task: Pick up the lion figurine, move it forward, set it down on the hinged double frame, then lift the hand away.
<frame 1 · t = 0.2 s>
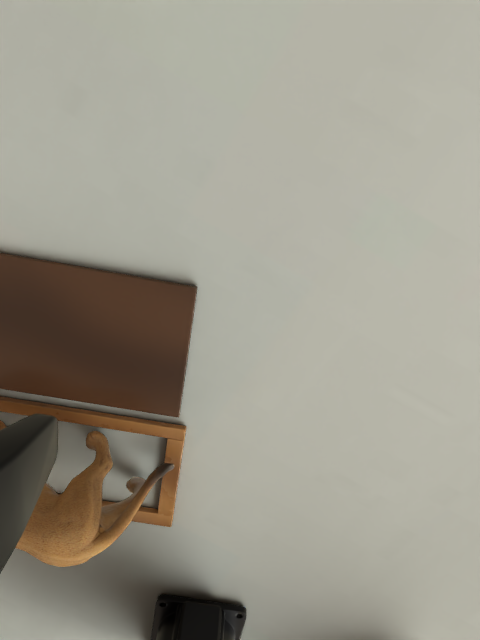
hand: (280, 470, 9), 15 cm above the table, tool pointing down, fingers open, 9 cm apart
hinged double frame: (51, 401, 26), on the table
lion figurine: (52, 455, 27), resting in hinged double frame
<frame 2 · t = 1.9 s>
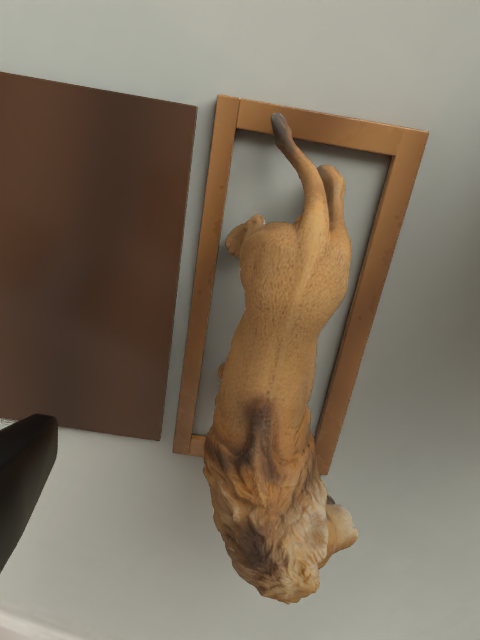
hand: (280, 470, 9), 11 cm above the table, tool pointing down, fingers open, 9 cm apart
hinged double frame: (188, 298, 19), on the table
lion figurine: (279, 311, 19), resting in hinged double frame
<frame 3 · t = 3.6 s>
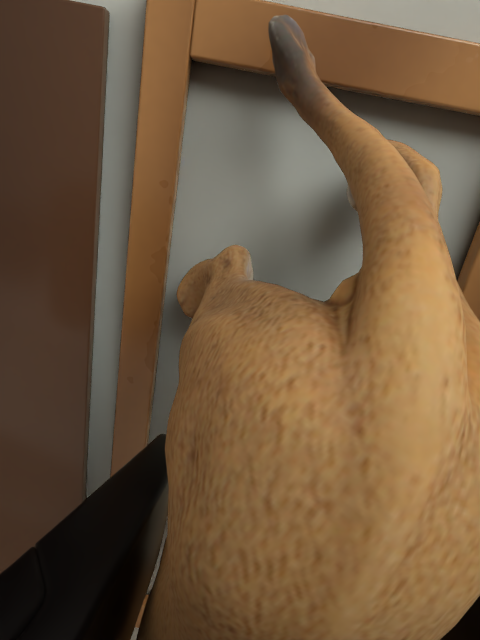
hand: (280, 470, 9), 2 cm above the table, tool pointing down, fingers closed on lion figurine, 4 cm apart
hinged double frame: (112, 386, 10), on the table
lion figurine: (279, 411, 11), resting in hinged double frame, touching gripper
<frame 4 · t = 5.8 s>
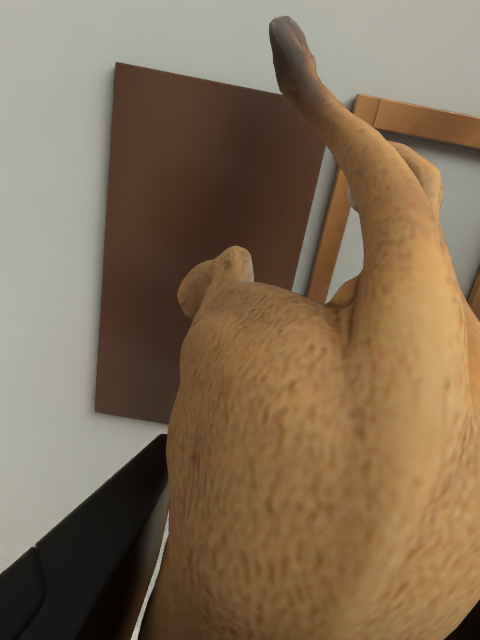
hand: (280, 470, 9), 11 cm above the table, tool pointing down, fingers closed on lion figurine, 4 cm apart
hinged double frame: (300, 297, 19), on the table
lion figurine: (280, 412, 11), point 9 cm above the table, touching gripper
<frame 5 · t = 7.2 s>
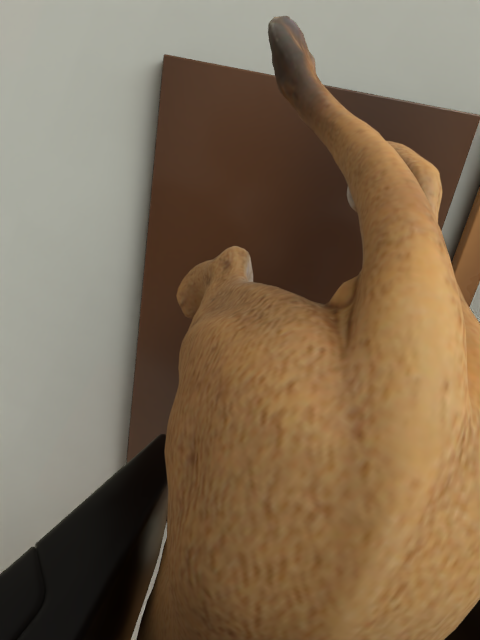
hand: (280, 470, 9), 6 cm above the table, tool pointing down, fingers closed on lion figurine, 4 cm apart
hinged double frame: (404, 373, 14), on the table
lion figurine: (279, 412, 11), point 3 cm above the table, touching gripper
when the fingers open (2 cm above the table, at t = 8.3 s): lion figurine stays where it is, resting on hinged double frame.
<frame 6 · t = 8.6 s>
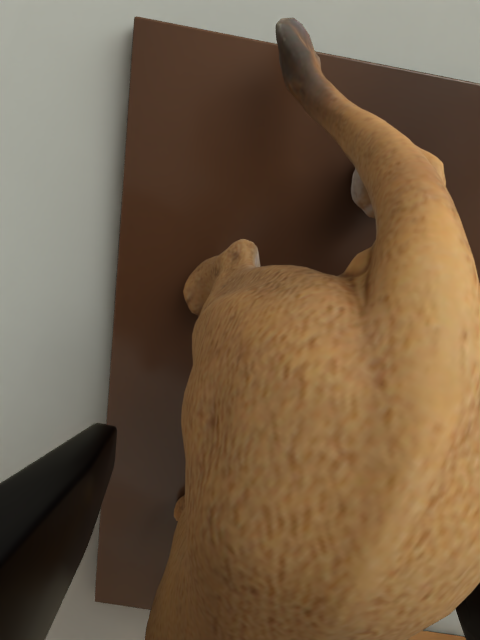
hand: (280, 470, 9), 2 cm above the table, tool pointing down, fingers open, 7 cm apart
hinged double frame: (452, 438, 11), on the table
lion figurine: (284, 411, 11), resting on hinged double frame
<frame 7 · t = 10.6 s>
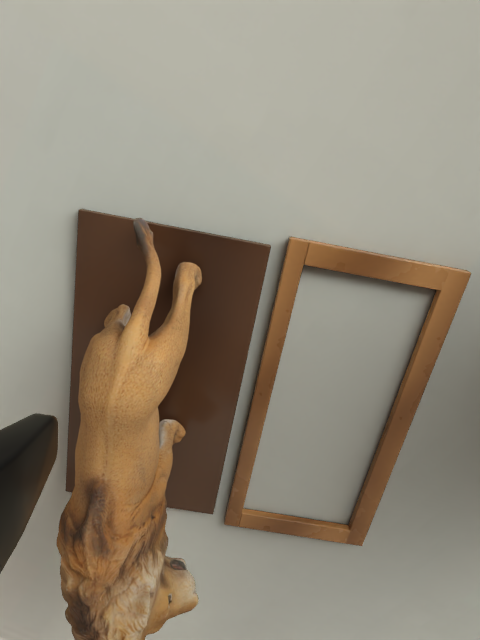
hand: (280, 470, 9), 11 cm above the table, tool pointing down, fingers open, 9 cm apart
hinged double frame: (248, 396, 21), on the table
lion figurine: (160, 381, 21), resting on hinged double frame
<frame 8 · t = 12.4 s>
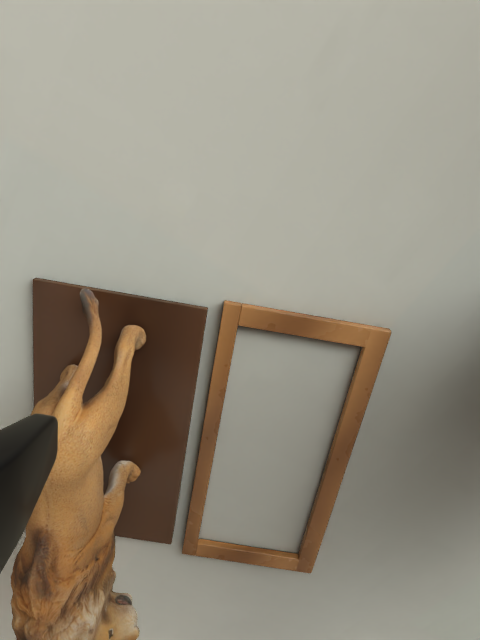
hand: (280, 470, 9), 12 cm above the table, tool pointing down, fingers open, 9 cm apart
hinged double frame: (197, 439, 23), on the table
lion figurine: (116, 426, 23), resting on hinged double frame
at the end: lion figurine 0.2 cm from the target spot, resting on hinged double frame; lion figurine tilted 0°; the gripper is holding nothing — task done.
